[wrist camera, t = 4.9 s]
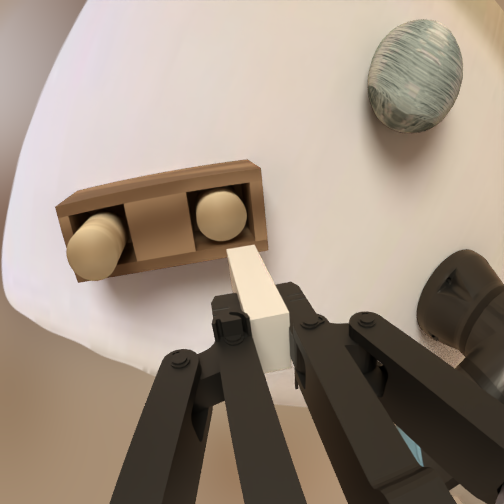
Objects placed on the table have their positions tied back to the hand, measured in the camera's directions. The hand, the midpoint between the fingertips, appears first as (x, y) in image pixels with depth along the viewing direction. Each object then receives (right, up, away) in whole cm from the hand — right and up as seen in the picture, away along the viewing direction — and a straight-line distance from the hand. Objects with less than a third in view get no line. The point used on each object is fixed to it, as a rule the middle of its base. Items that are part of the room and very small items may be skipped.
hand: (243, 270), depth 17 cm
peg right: (-3, +6, +13) cm, 14 cm away
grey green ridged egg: (+16, +20, +12) cm, 29 cm away
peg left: (-12, +3, +8) cm, 15 cm away
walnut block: (-8, +5, +13) cm, 16 cm away
